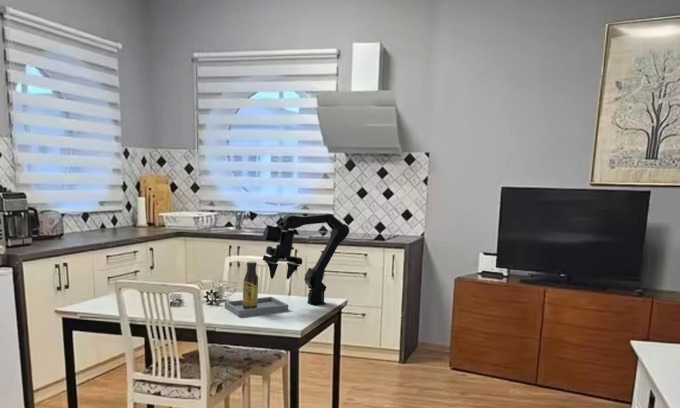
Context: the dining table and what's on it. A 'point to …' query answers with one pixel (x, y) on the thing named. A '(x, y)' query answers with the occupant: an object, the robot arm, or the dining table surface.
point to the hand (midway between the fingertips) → (279, 278)
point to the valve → (215, 294)
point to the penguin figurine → (175, 297)
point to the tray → (263, 307)
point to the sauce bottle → (250, 286)
